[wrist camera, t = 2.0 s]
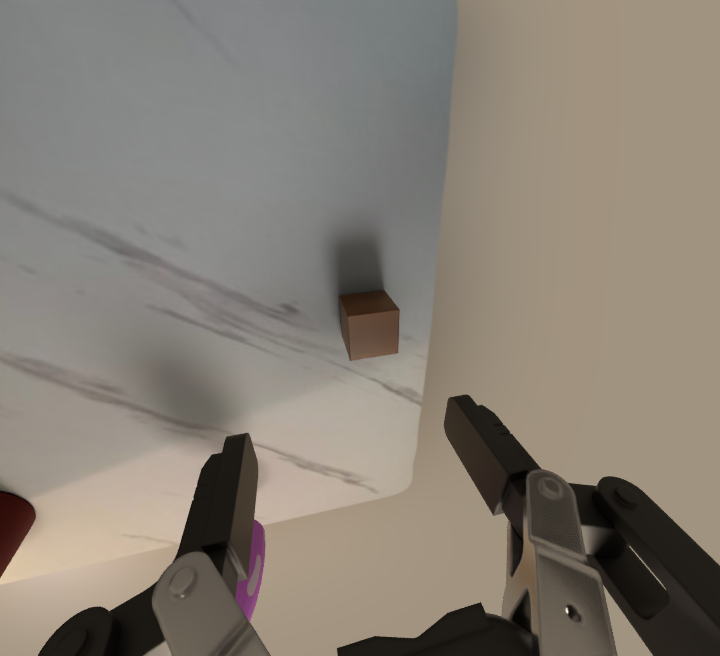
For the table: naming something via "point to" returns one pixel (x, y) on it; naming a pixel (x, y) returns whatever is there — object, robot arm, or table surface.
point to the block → (369, 324)
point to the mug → (13, 526)
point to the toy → (252, 573)
